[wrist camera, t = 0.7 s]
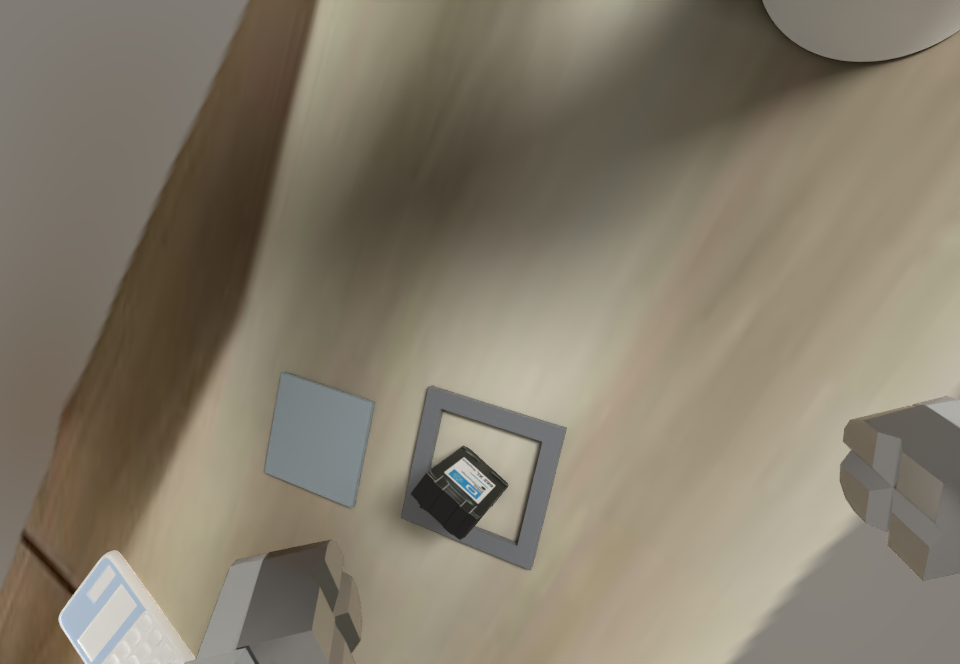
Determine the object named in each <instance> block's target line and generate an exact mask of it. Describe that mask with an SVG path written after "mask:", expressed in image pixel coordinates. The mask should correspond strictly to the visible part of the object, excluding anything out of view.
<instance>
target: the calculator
mask: <svg viewBox="0 0 960 664" xmlns="http://www.w3.org/2000/svg"><path fill="white" fill-rule="evenodd" d="M59 624H60V626H61V628H62V629H63V631H64V633H65V634H66V636H67V637H68V639H69V640H70V642H71V643H72V645H73V646H74V648H75V649H76V651H77V653H78V654H79V656H80V657H81V659H82V660H83V662H84V663H85V664H184V663H185V662H187V661H191V660H195V659H196V658H195V657H194V655H193V654H192V652H191V651H190V650H189V648H188V647H187V645H186V644H185V643H184V641H183V640H182V638H181V637H180V636H179V634H178V633H177V631H176V630H175V629H174V627H173V626H172V624H171V623H170V622H169V620H168V619H167V617H166V616H165V615H164V613H163V612H162V610H161V609H160V608H159V606H158V605H157V603H156V602H155V600H154V599H153V598H152V596H151V595H150V593H149V592H148V591H147V589H146V588H145V586H144V585H143V584H142V582H141V581H140V579H139V578H138V577H137V575H136V574H135V572H134V571H133V570H132V568H131V567H130V565H129V564H128V563H127V561H126V560H125V559H124V557H123V556H122V555H121V554H120V553H119V552H118V551H117V550H113V551H110V552H107V553H106V554H105V555H103V556H102V557H101V558H100V560H99V561H98V562H97V563H96V565H95V566H94V568H93V569H92V570H91V572H90V573H89V574H88V576H87V577H86V578H85V580H84V581H83V582H82V584H81V585H80V586H79V588H78V589H77V590H76V592H75V593H74V595H73V596H72V597H71V599H70V600H69V601H68V603H67V604H66V605H65V607H64V608H63V609H62V611H61V613H60V615H59Z"/></svg>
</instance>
